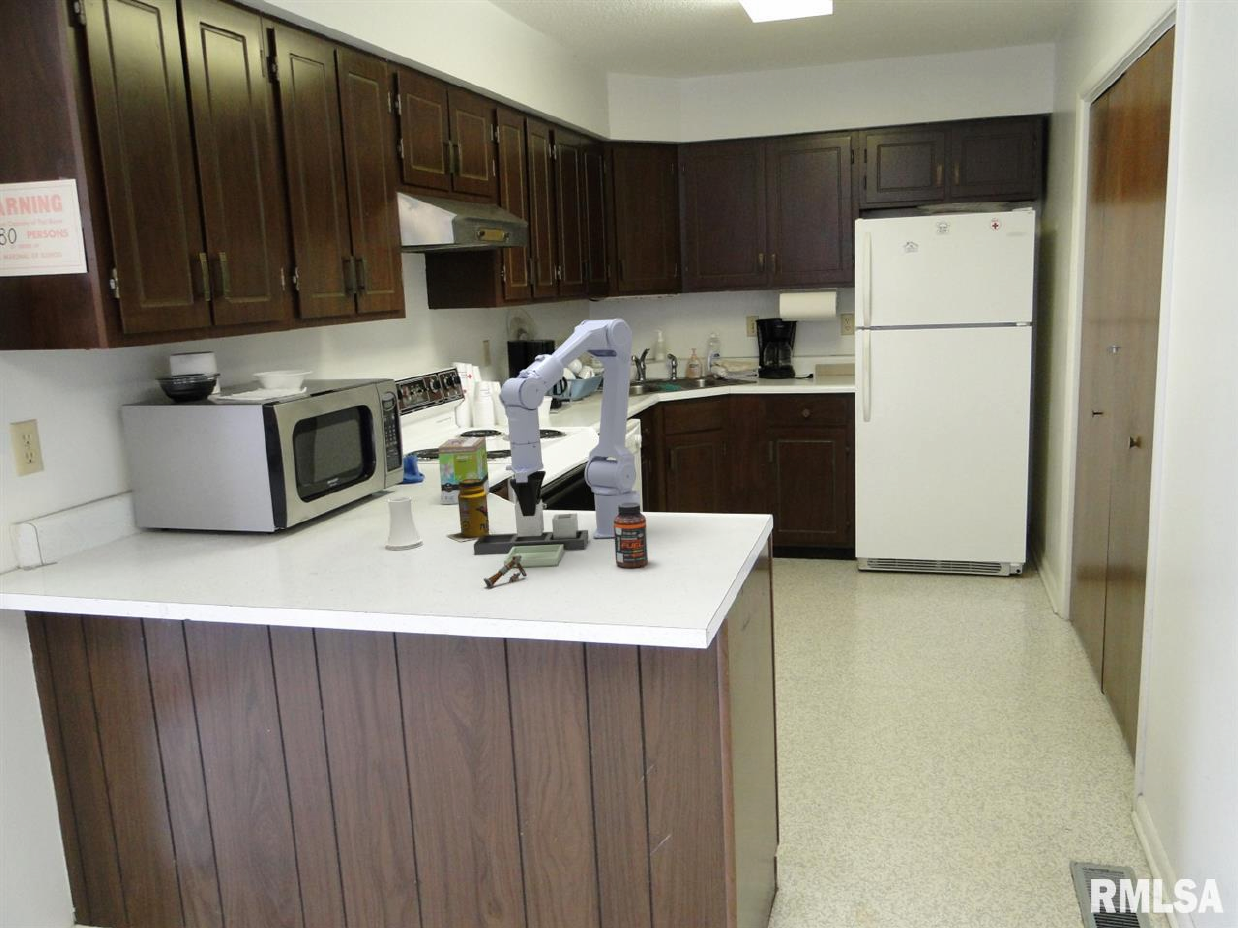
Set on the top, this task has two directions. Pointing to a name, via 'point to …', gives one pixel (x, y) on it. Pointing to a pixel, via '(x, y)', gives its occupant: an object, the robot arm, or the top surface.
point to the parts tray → (536, 555)
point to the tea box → (462, 465)
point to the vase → (402, 525)
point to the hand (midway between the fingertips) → (530, 512)
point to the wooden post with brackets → (504, 570)
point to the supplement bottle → (630, 536)
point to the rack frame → (525, 542)
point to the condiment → (472, 510)
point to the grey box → (529, 521)
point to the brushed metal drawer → (565, 526)
